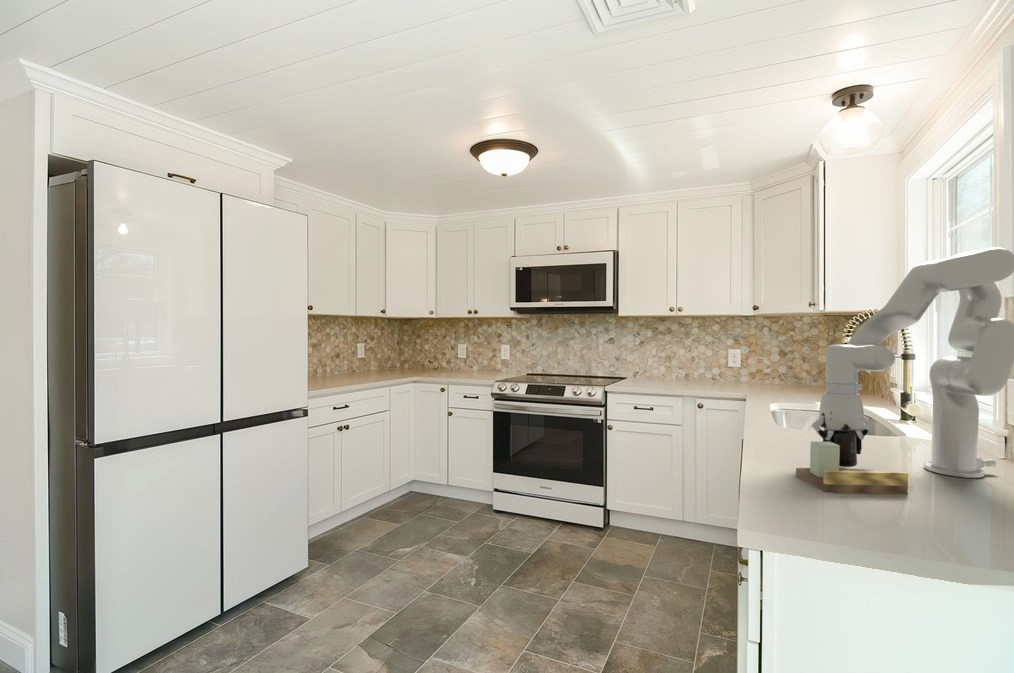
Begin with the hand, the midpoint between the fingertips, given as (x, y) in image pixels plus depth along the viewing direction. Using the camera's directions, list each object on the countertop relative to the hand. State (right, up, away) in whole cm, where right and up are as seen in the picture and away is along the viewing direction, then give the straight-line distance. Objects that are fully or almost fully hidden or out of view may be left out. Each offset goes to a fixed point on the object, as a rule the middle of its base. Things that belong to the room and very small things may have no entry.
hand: (842, 452), depth 145 cm
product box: (-12, -3, -12) cm, 18 cm away
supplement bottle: (0, -3, 0) cm, 3 cm away
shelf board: (-7, -5, -14) cm, 16 cm away
